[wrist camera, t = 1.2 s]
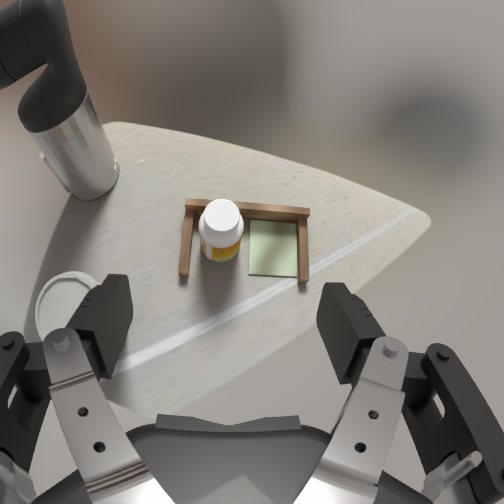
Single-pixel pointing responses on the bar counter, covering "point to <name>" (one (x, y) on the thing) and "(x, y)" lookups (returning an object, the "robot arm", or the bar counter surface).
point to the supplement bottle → (220, 230)
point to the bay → (261, 238)
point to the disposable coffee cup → (61, 300)
